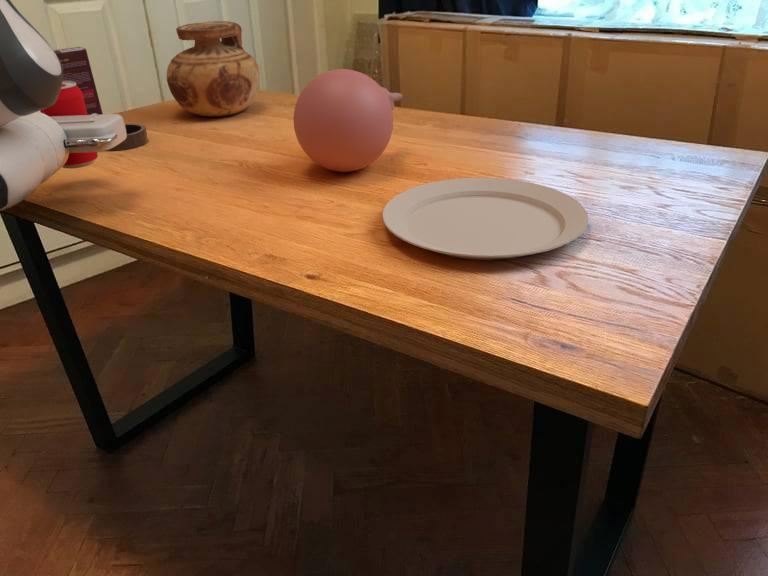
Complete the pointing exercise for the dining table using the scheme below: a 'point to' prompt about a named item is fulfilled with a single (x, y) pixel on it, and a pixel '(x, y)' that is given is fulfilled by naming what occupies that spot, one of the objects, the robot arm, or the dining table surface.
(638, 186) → the dining table surface
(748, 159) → the dining table surface
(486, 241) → the plate
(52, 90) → the robot arm
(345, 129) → the balloon
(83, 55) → the supplement box
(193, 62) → the clay pot
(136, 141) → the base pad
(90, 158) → the beverage can
